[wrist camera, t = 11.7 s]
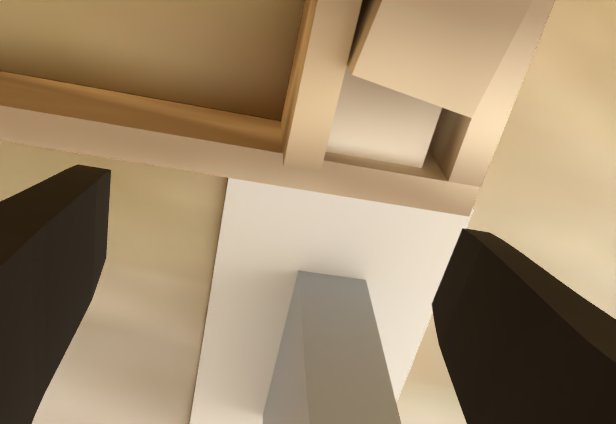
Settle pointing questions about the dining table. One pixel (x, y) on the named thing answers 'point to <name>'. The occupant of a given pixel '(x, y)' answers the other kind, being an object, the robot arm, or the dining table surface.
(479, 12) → the offcut block top
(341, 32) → the wooden tray
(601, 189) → the dining table surface
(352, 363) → the tall block
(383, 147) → the offcut block
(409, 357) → the beige panel
